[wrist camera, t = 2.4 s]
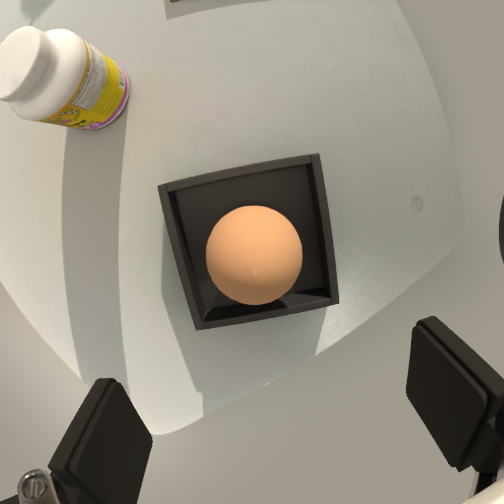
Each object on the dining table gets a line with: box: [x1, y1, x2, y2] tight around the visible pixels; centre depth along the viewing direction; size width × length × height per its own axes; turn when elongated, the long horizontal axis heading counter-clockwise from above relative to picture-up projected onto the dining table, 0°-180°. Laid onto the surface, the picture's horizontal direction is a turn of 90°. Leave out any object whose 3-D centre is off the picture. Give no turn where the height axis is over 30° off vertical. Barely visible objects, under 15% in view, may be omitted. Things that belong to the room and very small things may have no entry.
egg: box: [206, 206, 302, 305], centre depth 21 cm, size 7×7×9 cm
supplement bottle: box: [0, 26, 129, 130], centre depth 16 cm, size 7×7×13 cm
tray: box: [158, 153, 339, 330], centre depth 24 cm, size 12×12×3 cm
